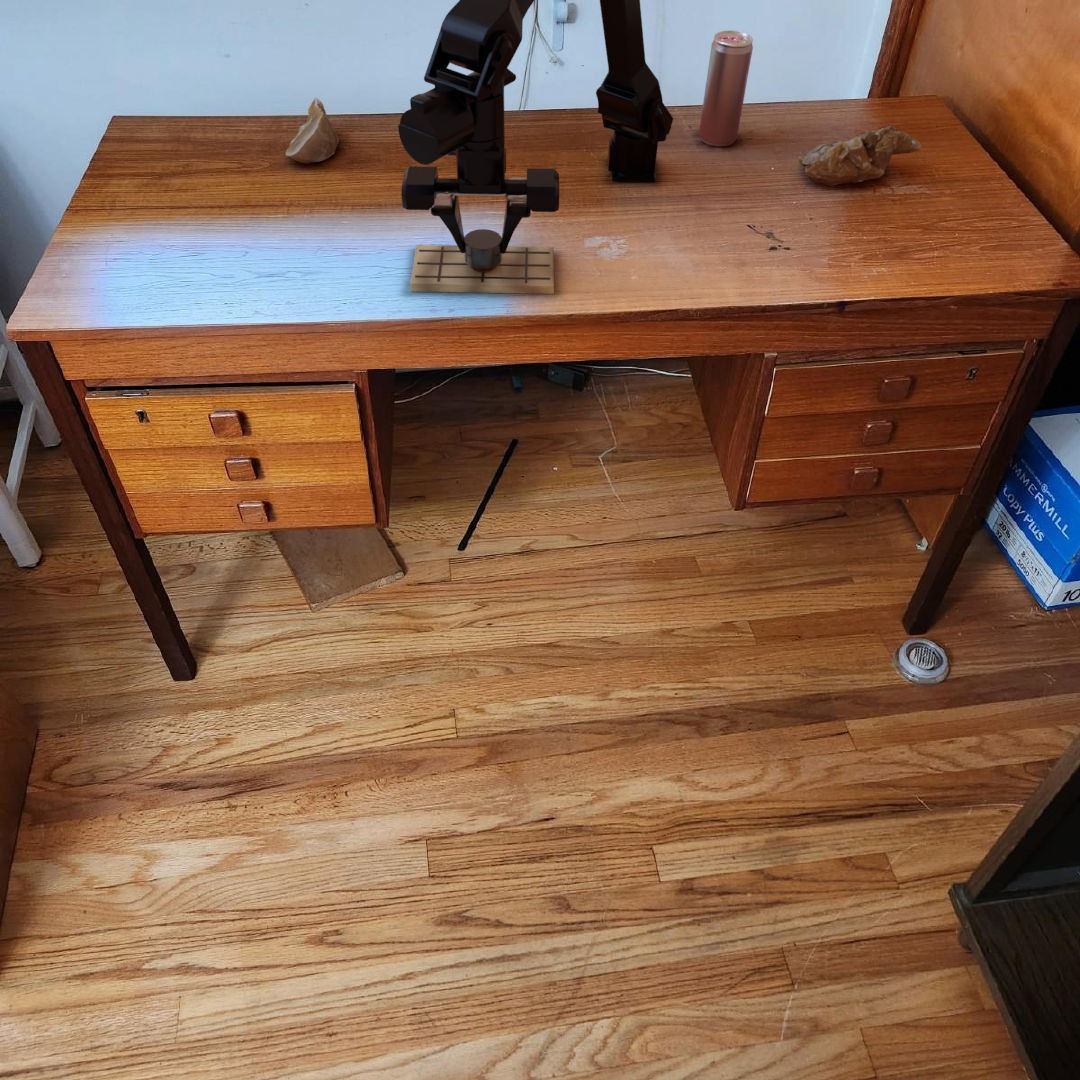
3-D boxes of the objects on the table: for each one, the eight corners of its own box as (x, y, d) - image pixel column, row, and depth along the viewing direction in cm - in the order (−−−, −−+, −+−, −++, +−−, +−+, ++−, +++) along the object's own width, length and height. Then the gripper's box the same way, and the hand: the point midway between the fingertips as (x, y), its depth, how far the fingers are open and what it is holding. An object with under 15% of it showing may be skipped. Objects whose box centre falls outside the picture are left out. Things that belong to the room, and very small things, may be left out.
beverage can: (698, 128, 152) (713, 28, 141) (736, 131, 152) (754, 31, 141) (697, 146, 148) (712, 44, 137) (736, 149, 148) (754, 47, 137)
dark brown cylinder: (502, 248, 124) (502, 229, 122) (501, 269, 121) (501, 249, 119) (465, 248, 124) (464, 228, 122) (463, 268, 121) (462, 249, 119)
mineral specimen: (849, 202, 151) (788, 192, 142) (844, 155, 150) (783, 143, 141) (925, 174, 140) (865, 161, 131) (920, 124, 140) (859, 108, 131)
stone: (286, 127, 136) (300, 76, 145) (282, 167, 140) (296, 115, 150) (337, 140, 137) (347, 89, 147) (331, 180, 142) (341, 128, 152)
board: (553, 255, 127) (553, 246, 126) (553, 293, 121) (553, 284, 120) (417, 252, 127) (416, 243, 126) (410, 291, 121) (410, 282, 120)
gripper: (560, 101, 115) (556, 219, 127) (404, 98, 115) (415, 217, 127) (561, 144, 108) (557, 266, 120) (395, 141, 108) (407, 264, 119)
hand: (483, 251), depth 122 cm, fingers closed on dark brown cylinder, 5 cm apart
